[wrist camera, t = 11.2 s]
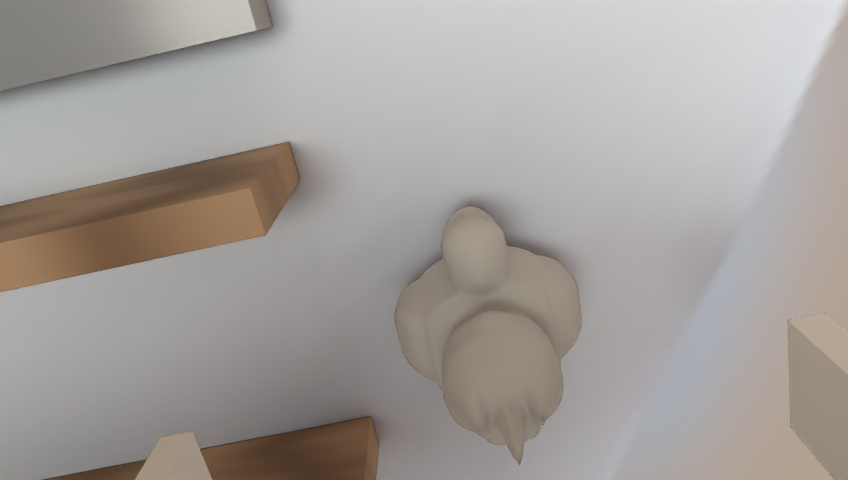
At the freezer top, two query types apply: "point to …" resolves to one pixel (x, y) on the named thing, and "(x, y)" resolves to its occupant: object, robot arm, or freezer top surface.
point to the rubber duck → (491, 330)
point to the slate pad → (110, 32)
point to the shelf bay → (169, 235)
